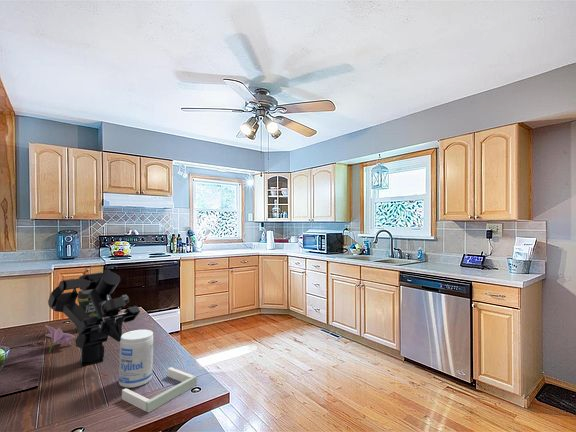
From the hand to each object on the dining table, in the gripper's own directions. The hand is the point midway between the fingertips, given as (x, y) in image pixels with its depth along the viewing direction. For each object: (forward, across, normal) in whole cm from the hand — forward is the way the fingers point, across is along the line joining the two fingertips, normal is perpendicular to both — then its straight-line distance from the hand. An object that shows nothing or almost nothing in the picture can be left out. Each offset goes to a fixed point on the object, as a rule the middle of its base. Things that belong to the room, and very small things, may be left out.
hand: (120, 340), depth 102 cm
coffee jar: (-32, +18, +48) cm, 60 cm away
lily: (-21, -1, +37) cm, 43 cm away
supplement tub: (+14, 0, +1) cm, 14 cm away
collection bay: (+23, 0, -8) cm, 24 cm away
